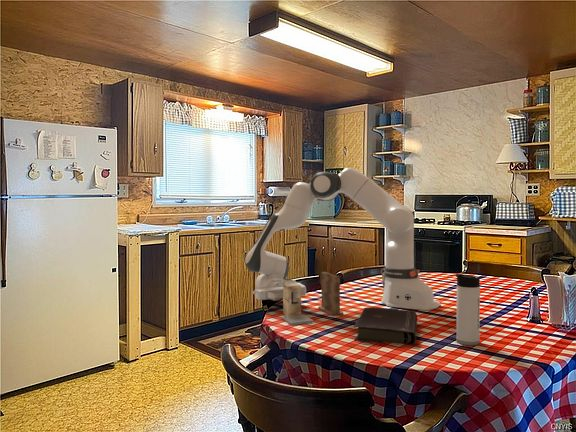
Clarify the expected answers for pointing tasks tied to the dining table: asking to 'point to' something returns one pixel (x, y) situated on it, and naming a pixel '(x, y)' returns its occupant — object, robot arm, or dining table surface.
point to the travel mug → (468, 310)
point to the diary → (386, 325)
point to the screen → (330, 294)
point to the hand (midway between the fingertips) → (287, 295)
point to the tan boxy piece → (292, 299)
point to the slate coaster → (297, 320)
